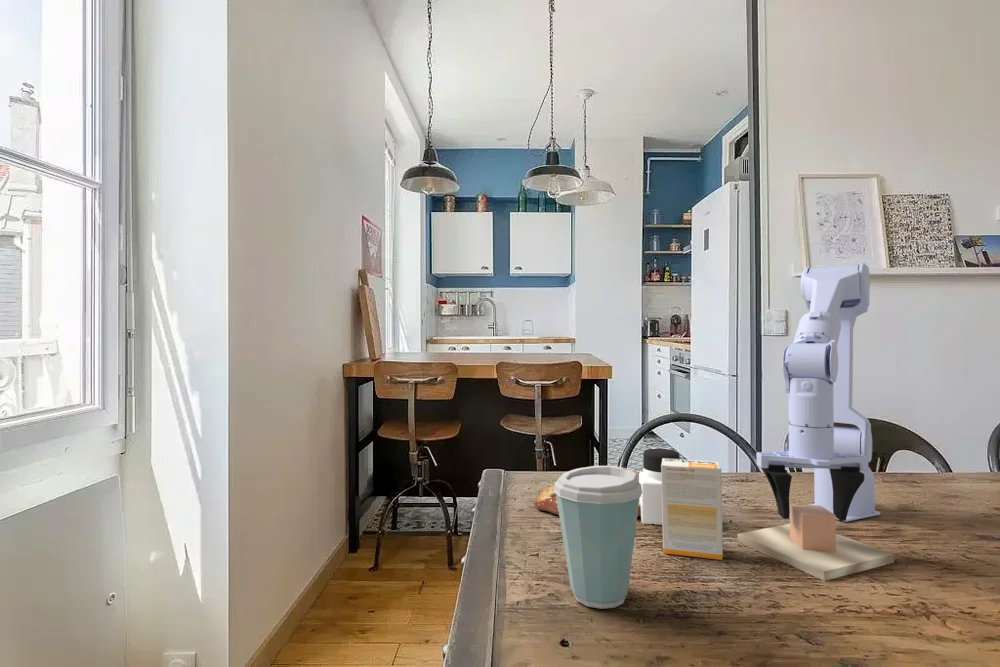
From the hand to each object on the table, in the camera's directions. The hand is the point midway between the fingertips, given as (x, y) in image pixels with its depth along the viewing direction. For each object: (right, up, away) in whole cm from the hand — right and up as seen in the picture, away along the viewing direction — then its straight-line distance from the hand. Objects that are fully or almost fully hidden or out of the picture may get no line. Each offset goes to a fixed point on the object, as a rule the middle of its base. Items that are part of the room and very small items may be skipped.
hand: (811, 517), depth 76 cm
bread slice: (-28, -5, +20) cm, 35 cm away
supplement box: (-18, -5, 0) cm, 18 cm away
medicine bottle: (-18, -5, +14) cm, 23 cm away
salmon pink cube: (0, -4, 0) cm, 4 cm away
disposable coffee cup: (-34, -5, -13) cm, 36 cm away
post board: (0, -5, 0) cm, 5 cm away
